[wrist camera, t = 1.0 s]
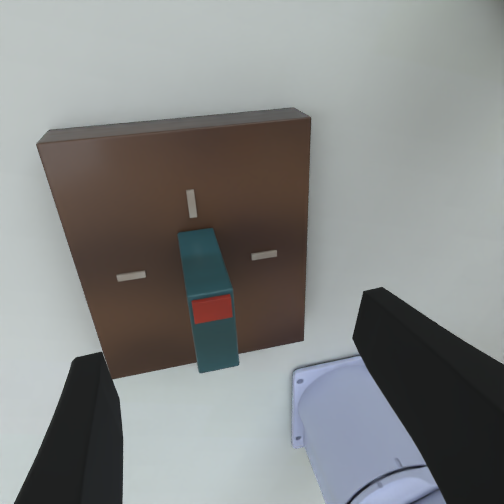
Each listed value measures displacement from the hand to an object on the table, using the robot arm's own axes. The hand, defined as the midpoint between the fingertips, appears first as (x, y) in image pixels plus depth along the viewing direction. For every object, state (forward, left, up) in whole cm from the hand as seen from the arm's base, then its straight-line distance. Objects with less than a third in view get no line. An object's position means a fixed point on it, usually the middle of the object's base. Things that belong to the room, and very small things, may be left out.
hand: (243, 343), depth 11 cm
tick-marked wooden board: (-3, 0, -12) cm, 13 cm away
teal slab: (-3, 0, -10) cm, 10 cm away
